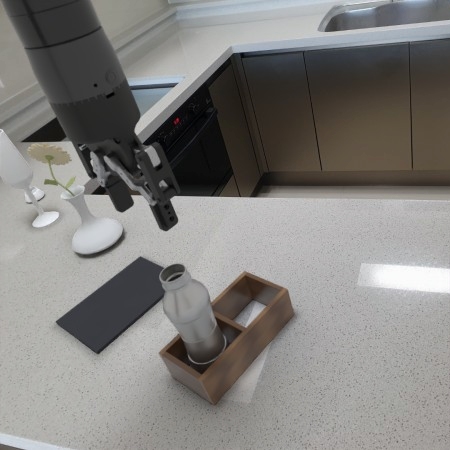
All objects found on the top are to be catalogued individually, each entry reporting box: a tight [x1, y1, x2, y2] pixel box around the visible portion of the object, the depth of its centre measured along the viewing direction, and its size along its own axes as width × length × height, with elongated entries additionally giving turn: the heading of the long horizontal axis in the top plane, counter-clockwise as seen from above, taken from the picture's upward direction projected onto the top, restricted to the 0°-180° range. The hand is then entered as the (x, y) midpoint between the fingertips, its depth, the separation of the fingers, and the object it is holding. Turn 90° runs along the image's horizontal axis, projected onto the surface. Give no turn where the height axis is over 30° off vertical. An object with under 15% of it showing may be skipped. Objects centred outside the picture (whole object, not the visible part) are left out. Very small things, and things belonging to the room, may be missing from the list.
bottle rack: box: [158, 270, 295, 406], centre depth 73 cm, size 19×10×6 cm, turn 143°
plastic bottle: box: [159, 262, 231, 374], centre depth 66 cm, size 6×7×20 cm
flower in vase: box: [26, 142, 124, 255], centre depth 97 cm, size 13×11×25 cm
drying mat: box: [55, 255, 165, 355], centre depth 87 cm, size 20×14×1 cm
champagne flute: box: [0, 128, 60, 228], centre depth 110 cm, size 7×7×24 cm
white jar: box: [24, 186, 45, 203], centre depth 126 cm, size 5×3×5 cm
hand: (147, 217), depth 54 cm, fingers open, 8 cm apart
